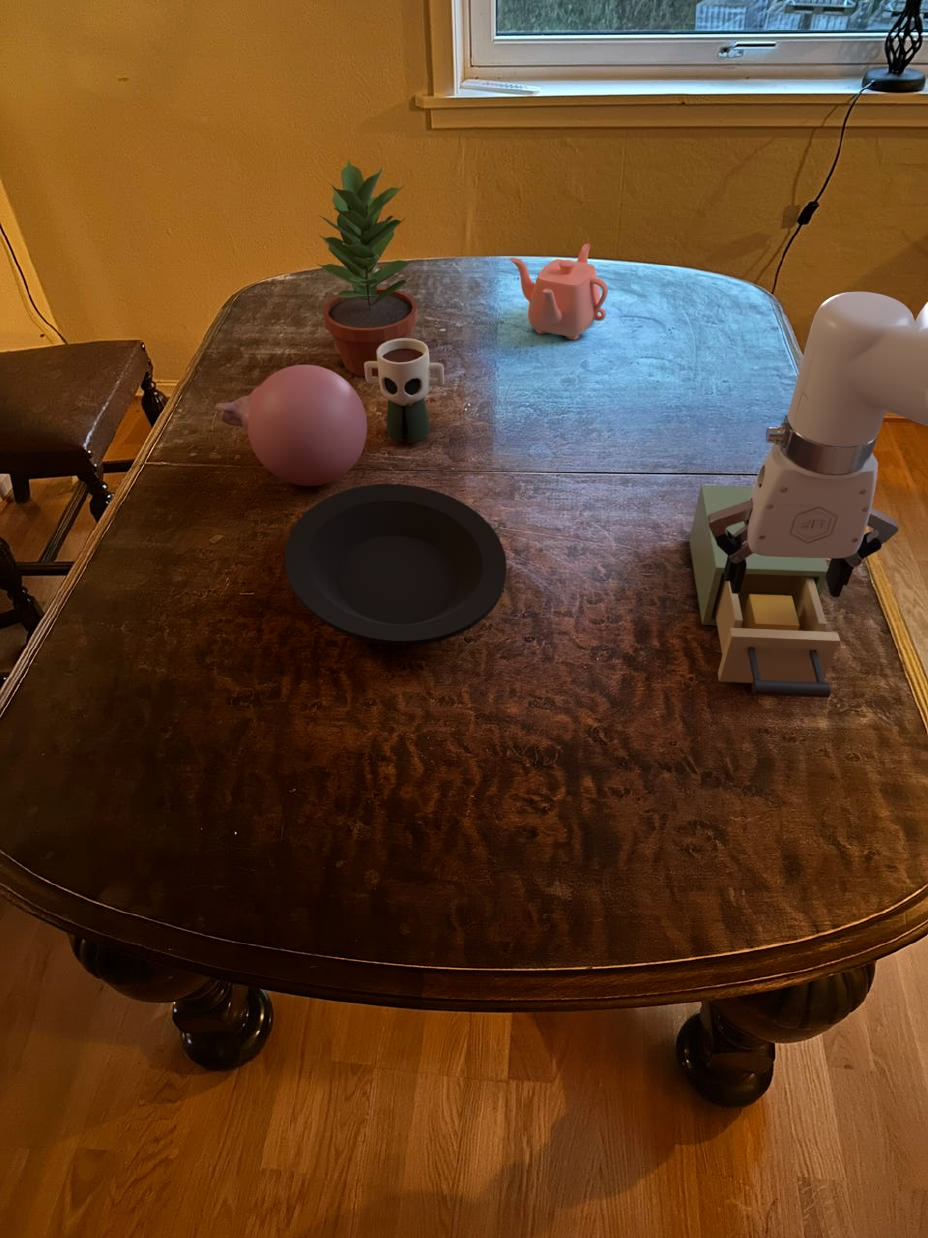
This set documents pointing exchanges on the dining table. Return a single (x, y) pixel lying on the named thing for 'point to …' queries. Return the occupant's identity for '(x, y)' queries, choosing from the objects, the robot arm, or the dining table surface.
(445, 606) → the plate
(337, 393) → the balloon
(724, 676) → the drawer
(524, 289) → the teapot
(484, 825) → the dining table surface
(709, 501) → the cabinet
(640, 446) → the dining table surface
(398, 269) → the potted plant
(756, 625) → the block
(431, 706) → the dining table surface
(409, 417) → the character mug
